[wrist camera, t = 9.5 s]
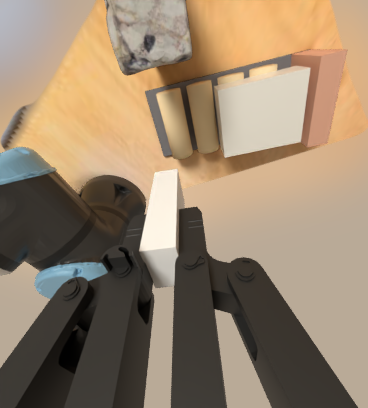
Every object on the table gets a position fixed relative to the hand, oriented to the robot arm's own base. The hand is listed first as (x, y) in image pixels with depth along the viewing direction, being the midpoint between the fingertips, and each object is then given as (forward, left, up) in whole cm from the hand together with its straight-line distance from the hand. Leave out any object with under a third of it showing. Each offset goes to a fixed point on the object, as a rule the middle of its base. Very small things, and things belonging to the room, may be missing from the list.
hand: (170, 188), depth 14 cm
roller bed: (+9, -3, -28) cm, 29 cm away
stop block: (+21, -3, -28) cm, 35 cm away
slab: (+12, -3, -23) cm, 27 cm away
